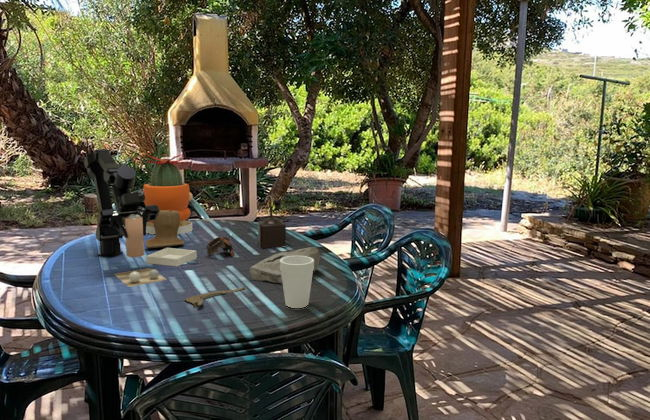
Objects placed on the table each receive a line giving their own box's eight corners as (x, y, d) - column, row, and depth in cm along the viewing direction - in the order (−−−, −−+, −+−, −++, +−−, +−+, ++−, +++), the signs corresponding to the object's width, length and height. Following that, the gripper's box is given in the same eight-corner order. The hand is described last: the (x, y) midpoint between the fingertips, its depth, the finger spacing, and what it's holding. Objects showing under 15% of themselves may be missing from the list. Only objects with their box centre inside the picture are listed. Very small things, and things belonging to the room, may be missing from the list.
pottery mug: (233, 260, 185) (221, 242, 182) (212, 269, 187) (200, 252, 184) (240, 244, 196) (229, 227, 193) (220, 253, 198) (208, 237, 195)
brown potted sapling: (287, 247, 203) (287, 203, 200) (260, 248, 200) (260, 204, 197) (281, 238, 218) (281, 197, 215) (256, 239, 215) (255, 198, 212)
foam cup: (280, 299, 144) (280, 255, 141) (312, 298, 145) (312, 255, 142) (280, 311, 134) (280, 265, 132) (314, 311, 135) (314, 264, 133)
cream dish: (146, 264, 177) (145, 256, 176) (167, 255, 189) (167, 247, 188) (177, 267, 173) (176, 259, 173) (196, 258, 185) (196, 250, 184)
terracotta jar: (123, 256, 162) (120, 215, 159) (133, 252, 167) (131, 212, 165) (137, 257, 160) (135, 216, 158) (147, 253, 166) (145, 213, 163)
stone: (297, 289, 154) (324, 270, 172) (297, 259, 153) (324, 243, 170) (246, 280, 162) (277, 264, 180) (246, 251, 160) (277, 238, 178)
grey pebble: (147, 279, 159) (146, 270, 158) (153, 276, 161) (152, 267, 161) (155, 280, 158) (154, 271, 157) (160, 277, 161) (160, 268, 160)
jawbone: (175, 307, 139) (174, 300, 139) (224, 287, 157) (223, 281, 157) (199, 311, 135) (199, 303, 135) (246, 290, 153) (246, 283, 152)
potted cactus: (148, 227, 238) (144, 153, 231) (196, 226, 240) (193, 153, 234) (136, 237, 216) (132, 156, 210) (189, 236, 219) (186, 156, 213)
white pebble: (126, 283, 155) (126, 272, 154) (134, 279, 158) (133, 269, 157) (136, 284, 154) (135, 273, 153) (143, 281, 157) (142, 270, 156)
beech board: (113, 275, 164) (113, 273, 164) (150, 269, 171) (150, 267, 171) (128, 288, 151) (128, 286, 151) (167, 281, 159) (167, 279, 159)
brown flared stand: (179, 241, 211) (178, 206, 209) (186, 247, 201) (185, 210, 198) (142, 244, 204) (140, 208, 202) (146, 251, 194) (144, 213, 191)
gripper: (97, 184, 157) (109, 225, 150) (156, 181, 168) (170, 218, 162) (92, 205, 164) (104, 245, 158) (149, 200, 176) (162, 237, 169)
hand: (135, 236), depth 161 cm, fingers closed on terracotta jar, 5 cm apart
